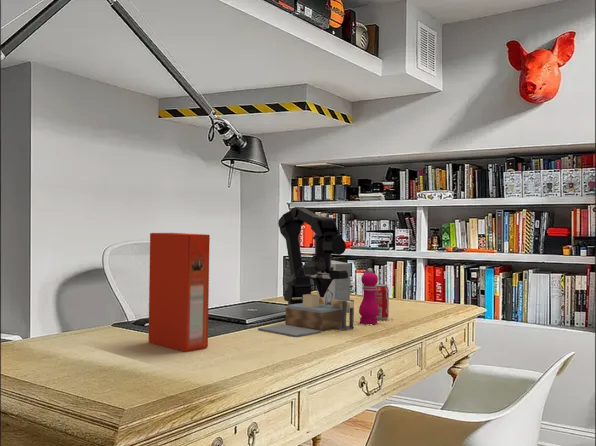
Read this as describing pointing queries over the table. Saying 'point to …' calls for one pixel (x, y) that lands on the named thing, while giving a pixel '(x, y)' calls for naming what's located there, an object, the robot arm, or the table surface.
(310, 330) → the felt pad
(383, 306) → the soda can
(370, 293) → the pepper mill
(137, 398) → the table surface
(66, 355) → the table surface
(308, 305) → the lid
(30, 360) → the table surface
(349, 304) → the tan wooden bar
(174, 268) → the file binder
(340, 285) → the hard drive box
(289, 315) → the open wooden box
